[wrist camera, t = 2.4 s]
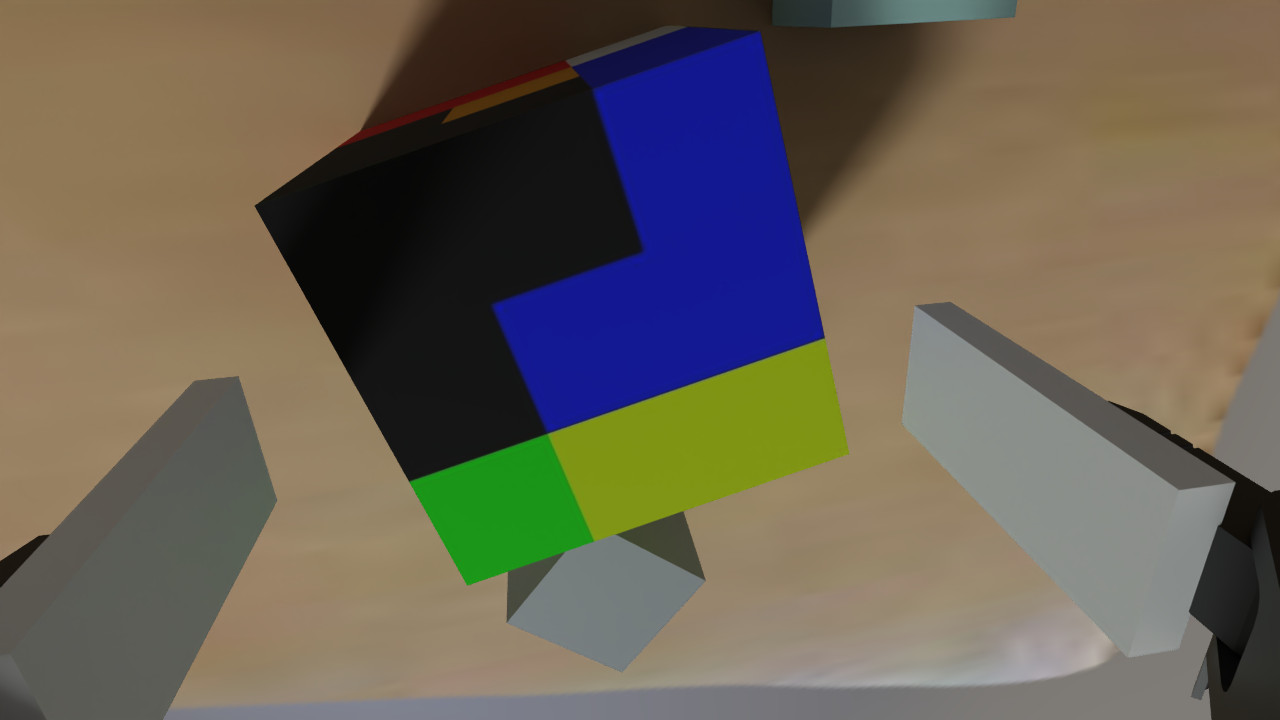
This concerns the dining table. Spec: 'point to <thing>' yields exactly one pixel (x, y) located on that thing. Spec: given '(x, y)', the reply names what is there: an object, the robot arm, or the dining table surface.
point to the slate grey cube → (608, 591)
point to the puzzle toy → (574, 294)
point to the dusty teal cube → (884, 11)
